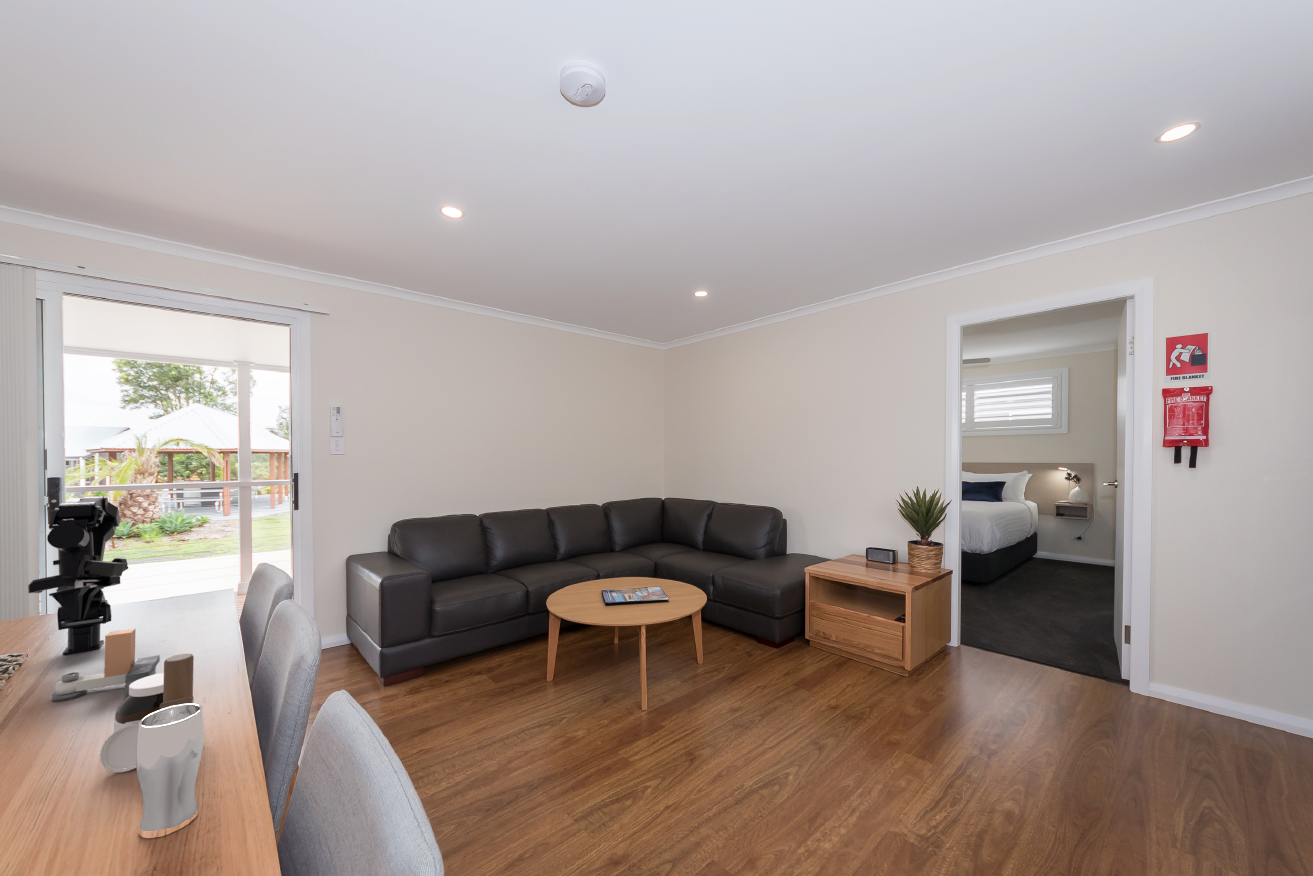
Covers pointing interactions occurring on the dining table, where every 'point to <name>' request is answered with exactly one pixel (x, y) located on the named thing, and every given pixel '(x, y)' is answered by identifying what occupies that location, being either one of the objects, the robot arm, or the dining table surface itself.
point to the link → (107, 664)
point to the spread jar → (131, 723)
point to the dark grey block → (141, 670)
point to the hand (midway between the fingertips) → (79, 619)
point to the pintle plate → (69, 696)
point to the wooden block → (178, 680)
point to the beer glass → (169, 764)
